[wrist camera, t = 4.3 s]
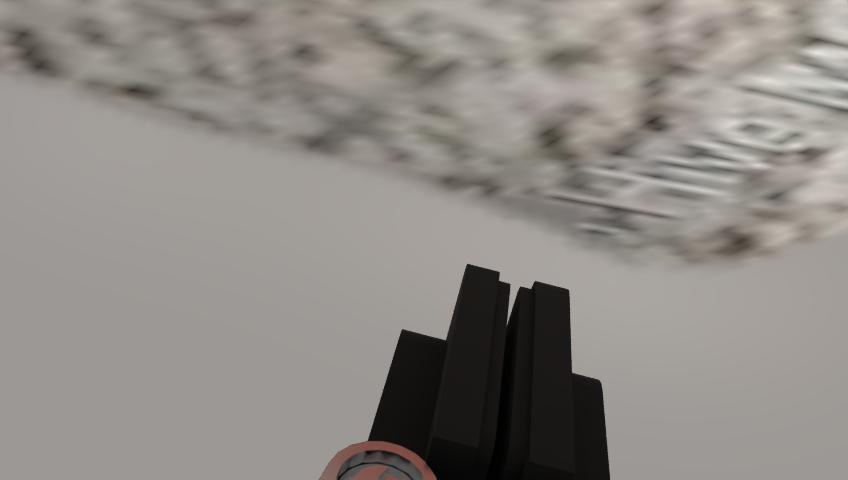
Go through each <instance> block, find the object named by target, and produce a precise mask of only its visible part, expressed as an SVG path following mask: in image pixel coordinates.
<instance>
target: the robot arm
mask: <svg viewBox="0 0 848 480" xmlns="http://www.w3.org/2000/svg"><path fill="white" fill-rule="evenodd" d="M499 275H500V272H498V271H494V270H490V269H486V268H482V267H478V266H474V265H470V264H467V266H466V269H465V272H464V276H463V280H462V283H461V287H460V291H459V294H458V298H457V302H456V305H455V309H454V313H453V317H452V320H451V324H450V328H449V331H448V335H447V339H446V340H442V339H438V338H434V337H430V336H427V335H422V334H419V333H415V332H411V331H407V330H403V329H402V331H401V334H400V337H399V340H398V344H397V347H396V350H395V353H394V357H393V360H392V363H391V367H390V370H389V373H388V376H387V380H386V383H385V386H384V389H383V393H382V396H381V399H380V403H379V406H378V409H377V413H376V416H375V419H374V422H373V426H372V429H371V432H370V436H369V439H368V441H366V442H362V443H357V444H353V445H350V446H348V447H347V448H345V449H343V450H342V451H340V452H338V453H337V454H336V455H335V457H334V458H333V459H332V460H331V461H330V462H329V463H328V465H327V467H326V468H325V470H324V472H323V474H322V475H321V477H320V479H319V480H610V473H609V461H608V451H607V450H608V449H607V438H606V426H605V414H604V404H603V391H602V385H601V382H600V381H599V380H597V379H594V378H590V377H586V376H582V375H578V374H574V373H572V360H571V330H570V297H569V290H568V289H565V288H561V287H556V286H553V285H549V284H545V283H541V282H537V281H535V282H534V284H533V286H532V289H528V288H525V287H520V288H519V290H518V293H517V296H516V299H515V302H514V305H513V309H512V312H511V315H510V318H509V321H508V324H507V316H508V306H509V295H510V284H509V283H504V282H501V281H499Z"/></svg>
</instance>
